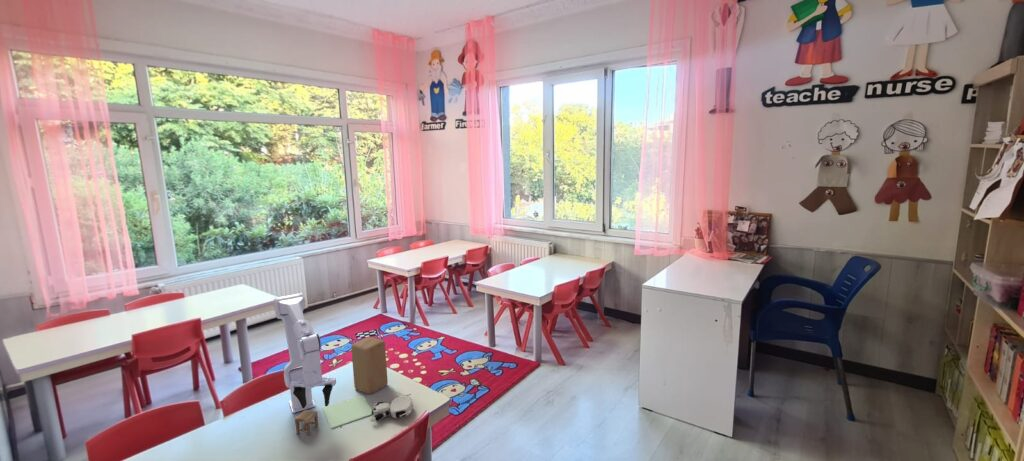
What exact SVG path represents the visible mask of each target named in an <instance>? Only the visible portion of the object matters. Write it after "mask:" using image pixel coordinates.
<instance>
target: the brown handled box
mask: <svg viewBox="0 0 1024 461" xmlns="http://www.w3.org/2000/svg"><path fill="white" fill-rule="evenodd" d="M318 418H319V417H318V411H317V410H309V409H305V410H302V411H301V412H300V414H298V415H297V416H296V417H295V418H294V423H295V433H296V435H299V434H301V432H306V435H307V436H308V437H309V436H311V434H312V433H311V432H312V431H311V425H314V428H315V429H318V428H319V421H318V420H319V419H318ZM313 419H314V420H313ZM312 420H313V421H312ZM300 423H303V427H304V428H300Z"/></svg>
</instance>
